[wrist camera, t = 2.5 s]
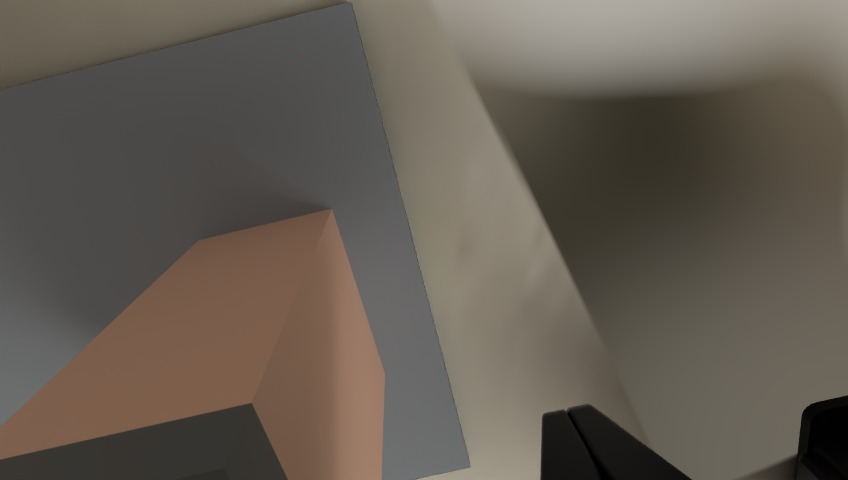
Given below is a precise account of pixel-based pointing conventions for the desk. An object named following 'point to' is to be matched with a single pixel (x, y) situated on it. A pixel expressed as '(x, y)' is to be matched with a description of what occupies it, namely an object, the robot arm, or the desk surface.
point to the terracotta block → (220, 373)
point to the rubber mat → (211, 202)
